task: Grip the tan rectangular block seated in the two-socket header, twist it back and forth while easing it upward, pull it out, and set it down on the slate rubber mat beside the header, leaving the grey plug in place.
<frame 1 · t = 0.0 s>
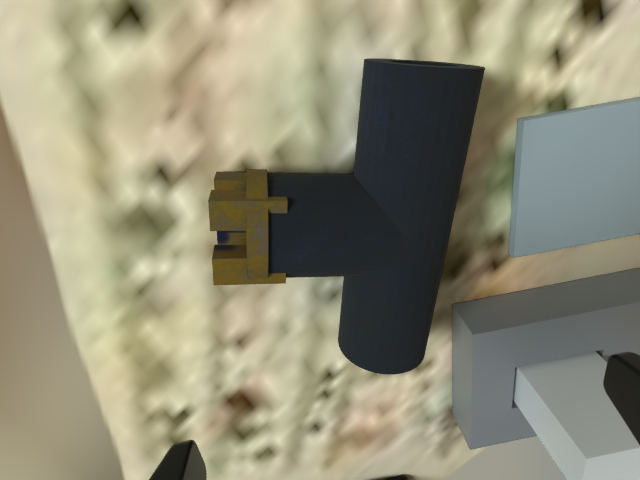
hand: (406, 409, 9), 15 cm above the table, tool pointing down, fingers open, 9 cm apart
grey plug: (529, 347, 29), resting in header
slate mat: (606, 173, 24), on the table
pipe connector: (327, 204, 23), on the table
header: (605, 332, 29), on the table
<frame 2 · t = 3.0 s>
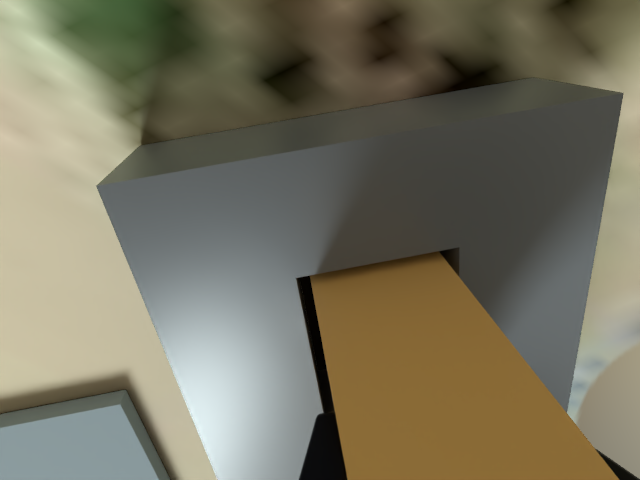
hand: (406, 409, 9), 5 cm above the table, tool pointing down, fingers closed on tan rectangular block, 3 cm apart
tan rectangular block: (362, 291, 13), resting in header, touching gripper
header: (377, 415, 15), on the table
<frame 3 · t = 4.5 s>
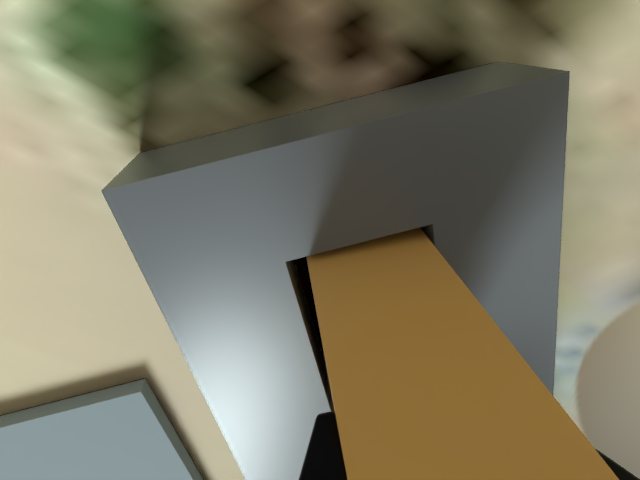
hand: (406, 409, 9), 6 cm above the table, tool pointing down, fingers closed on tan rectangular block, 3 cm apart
tan rectangular block: (361, 291, 13), point 1 cm above the table, touching gripper
header: (381, 391, 16), on the table
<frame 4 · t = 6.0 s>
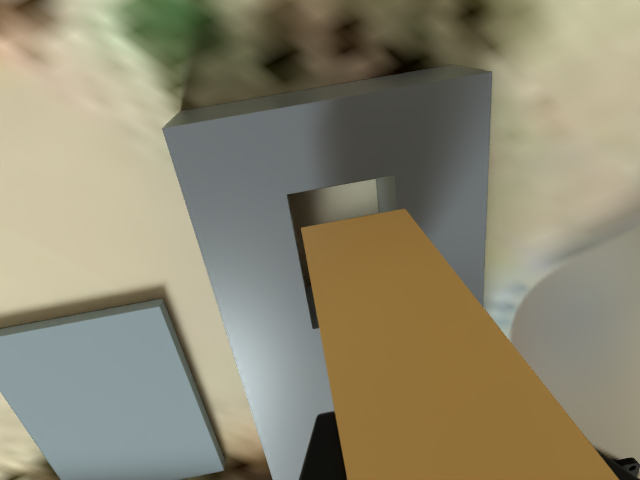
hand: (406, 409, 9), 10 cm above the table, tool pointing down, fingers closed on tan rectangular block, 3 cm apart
tan rectangular block: (361, 291, 13), point 5 cm above the table, touching gripper
slate mat: (116, 405, 21), on the table
header: (351, 326, 20), on the table
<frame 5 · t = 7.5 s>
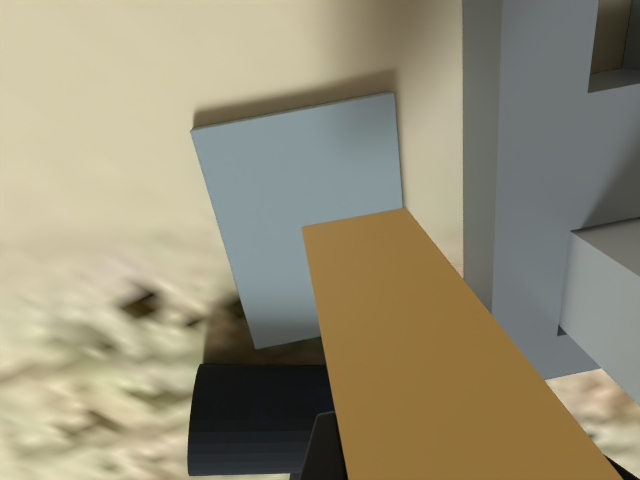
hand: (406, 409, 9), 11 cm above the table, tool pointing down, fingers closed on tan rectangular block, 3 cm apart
grey plug: (559, 247, 21), resting in header
tan rectangular block: (362, 290, 13), point 7 cm above the table, touching gripper
slate mat: (314, 231, 19), on the table
pipe connector: (331, 418, 25), on the table
header: (572, 140, 19), on the table
when the fingers open (6 cm above the table, at t = 9.0 s): tan rectangular block drops 1 cm, resting on slate mat.
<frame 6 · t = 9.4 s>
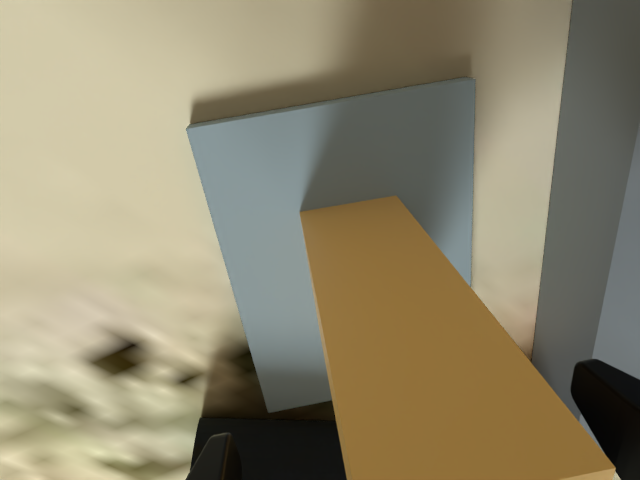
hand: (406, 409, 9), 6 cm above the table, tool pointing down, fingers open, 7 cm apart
tan rectangular block: (355, 273, 14), point 1 cm above the table, touching slate mat
slate mat: (351, 265, 14), on the table
pipe connector: (355, 479, 21), on the table
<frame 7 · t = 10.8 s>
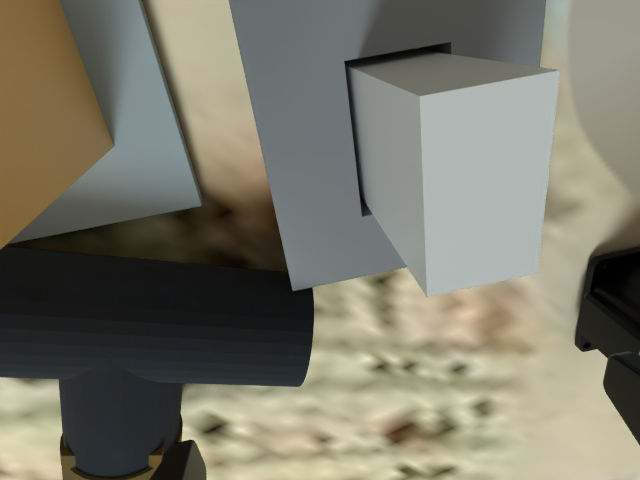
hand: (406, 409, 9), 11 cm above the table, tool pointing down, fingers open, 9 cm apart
grey plug: (379, 119, 18), resting in header
tan rectangular block: (44, 84, 15), point 1 cm above the table, touching slate mat
slate mat: (50, 83, 15), on the table
pipe connector: (139, 336, 21), on the table
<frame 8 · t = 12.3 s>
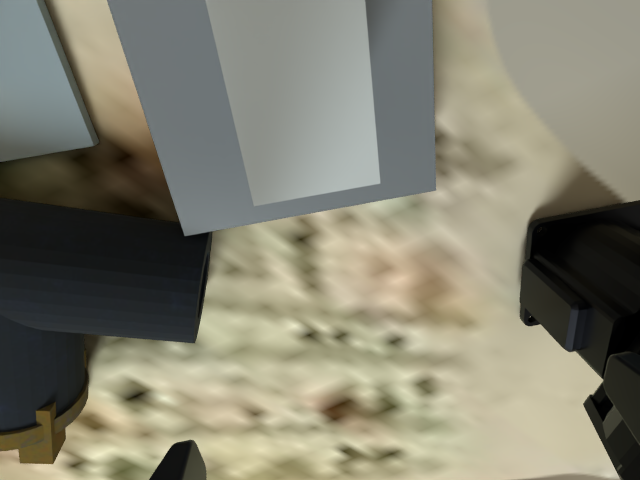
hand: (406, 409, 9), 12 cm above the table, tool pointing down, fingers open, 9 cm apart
grey plug: (282, 57, 17), resting in header
pipe connector: (46, 293, 21), on the table
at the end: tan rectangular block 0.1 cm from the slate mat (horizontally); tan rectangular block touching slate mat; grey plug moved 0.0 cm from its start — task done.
